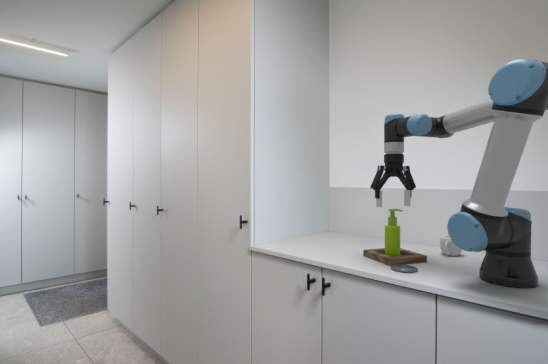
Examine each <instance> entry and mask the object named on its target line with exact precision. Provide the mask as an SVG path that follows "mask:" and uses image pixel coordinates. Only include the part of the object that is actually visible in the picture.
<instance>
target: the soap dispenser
mask: <svg viewBox="0 0 548 364" xmlns="http://www.w3.org/2000/svg"><path fill="white" fill-rule="evenodd" d="M388 212H390V216H388V217H387V224H386V225H384V248H385V255H388V256H391V257H394V256H400V248H401V226H399V225H398V217H396V213H395V212H402V213H403V212H404V210H403V209H399V208H389V209H388Z"/></svg>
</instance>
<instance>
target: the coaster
mask: <svg viewBox="0 0 548 364" xmlns="http://www.w3.org/2000/svg"><path fill="white" fill-rule="evenodd" d="M390 270H391V271H394V272H397V273H401V274H402V273H403V274H414V273H417V272H418V271H419V269H418V267H416V266H413V265H411V264H404V265H402V264H397V265H392V266H390Z"/></svg>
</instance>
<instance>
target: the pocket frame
mask: <svg viewBox="0 0 548 364" xmlns="http://www.w3.org/2000/svg"><path fill="white" fill-rule="evenodd" d="M362 255H363V257H366V258H367V259H368V258H369V259H372V260H374V261H376V262H379V263H381V264H384V265H386V266H390V267H391V266H392V265H397V264H402V265H414V264H419V263H421V264H423V263H427V262H428V260H427V259H428V255H426V254H422V253H419V252H415V251H412V250H408V249H404V248H402V247H400V256H394V257H391V256H388V255H385V247H383V248H382V247H381V248H380V247H379V248H370V249H363V254H362Z"/></svg>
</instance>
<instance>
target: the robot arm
mask: <svg viewBox="0 0 548 364" xmlns="http://www.w3.org/2000/svg"><path fill="white" fill-rule="evenodd" d="M487 88H488V89H487V90H488V91H487V93H488V95H489V99H486V100H482V101H479V102H477V103H474V104H471V105H469V106H466V107H464V108H460V109H458V110H456V111H452V112H450V113H447V114H444V115H442V116H439V117H436V116H435V117H434V116H429V115H428V114H427V113H418V114H413V115H409V116H405V115H404V114H403V113H392V114H391V113H390V114H387V115H385V117H384V123H383V134H384V135H383V143H384V144H383V147H384V148H383V153H385V154H384V156H383V163H384V165H381V164H379V165H377V171H376V173H375V176H374V177H373V180H372V183H371V185H370V190H371V189H372V190H373V191H374V199H375V200H376V201H375V202H376V204H375V205H376V208H377V207H378V208H383V190H381V189H382V188H383V187H384V185H385V184H386V183H387V181H388V180H389V179H390V178H393V177H394V178H398V179H399V181H400V183H401V184H402V185H403V187H404V190H403V191H404V192H403V193H404V194H403V206H404V207H411V199H412V195H413V194H412V192H413V191H414V189H416V188H417V185H416V183H415V181H414V178H413V176H412V173H411V169H410V165H403V164H404V163H405V154H404V152H405V138H408V137H409V138H410V137H421V138H422V137H423V138H435V139H436V138H437V139H448V138H451V137H452V136H454V135H455V133H459V132H463V131H466V130H470V129H473V128H477V127H481V126H484V125H487V124H490V123H492V127H491V131H490V133H489V137H488V140H487V144H486V147H485V150H484V153H483V156H482V160H481V162H480V166H479V169H478V172H477V175H476V178H475V182H474V184H473V187H472V191H471V195H470V197H469V198H467V199H466V200H463V201H462V204H461V207H460V210H459V211H457V212H455V213H454V214H451V216H450V217H449V219H448V222H447V223H446V224H447V227H446V228H447V233H448V234H447V235H449V236H450V237H451V240H452V242H453V243H454V244H455V245H456V246H457V247H459V248H460V249H462V251H464V252H471V253H472V252H475V253H480V252H483V251H485V253H484V258H483V260H482V262H481V264H480V267H479V270H478V271H479V272H478V273H479V275H478V276H479V278H480V279H481V280H484V281H485V282H488V283H491V284H495V285H499V286H504V287H512V288H519V289H520V288H523V289H524V288H527V289H529V288H536V287H538V286H539V276H538V274H537V271H536V268H535V266H534V263H533V261H532V225H533V221H532V215H531V214H532V213H531V212H530V211H529V210H528V209H525V208H524V209H523V208H517V207H509V206H505V205H506V202H507V199H508V196H509V195H510V194H509V193H510V190H511V187H512V184H513V182H514V179H515V177H516V173H517V170H518V168H519V164H520V161H521V158H522V156H523V153H524V151H525V147H526V144H527V141H528V138H529V136H530V133H531V130H532V127H533V124H534V123H535V122H537V121H539V120H540V119H542V118H543V117H544V114H545V112H546V111H547V110H548V62H546V61H541V60H538V59H532V58H531V59H527V58H519V59H514V60H511V61H509V62H507V63H505V64H504V65H503V66H501V67H499V68H498V69H497V70H496V71H495V73H493V75H492V77H491V78H490V81H489V84H488V87H487Z"/></svg>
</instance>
